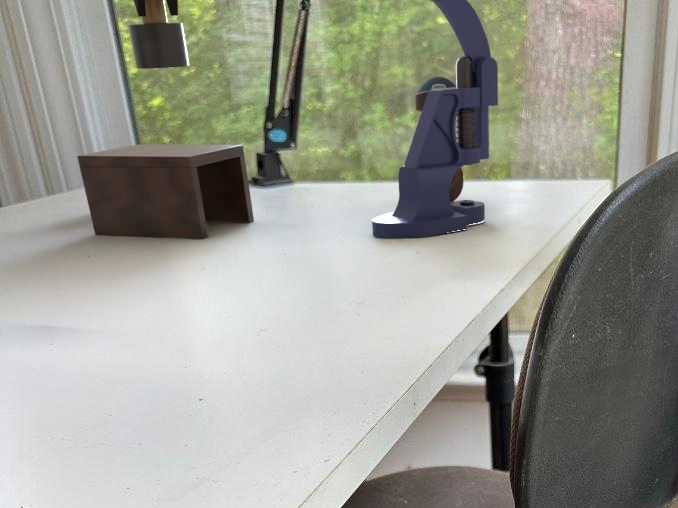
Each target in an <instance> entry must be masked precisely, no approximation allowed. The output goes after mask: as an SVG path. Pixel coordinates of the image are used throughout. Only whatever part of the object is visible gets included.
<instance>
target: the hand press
mask: <svg viewBox="0 0 678 508" xmlns="http://www.w3.org/2000/svg"><path fill="white" fill-rule="evenodd" d="M429 1H430V2H432V3H434V5H435V6H436V7H437V8H438V9H439V10H440V11H441V13H442V14H443V16H444V17H445V19H446V20H447V22H448V23H449V25H450V27H451V29H452V30H453V33H454V34H455V36H456V39H457V40H458V42H459V45H460V47H461V50H462V52H463V54H464V56H460V57H459V58H458V59H457V61H456V62H455V63H456V64H455V79H456V80H455V82H456V83H455V85H456V86H457V87H452V88H442V89H430V90H429V91H428V94H427V97H426V100H425V103H424V106H423V109H422V112H421V113H420V116H419V119H418V122H417V125H416V127H415V131H414V134H413V137H412V141H411V143H410V145H409V149H408V152H407V156H406V158H405V162H404V165H402V166H401V167H399V169H398V201H397V205H396V207H395V210H394V211H391V212H386V213H384V214H381V215H379V216H376V217H374V218H372V219H371V225H372V236H373V237H376V238H381V239H410V238H411V237H414V238H426V237H425V236H429V237H433V236H432V235H436V236H439V235H438V234H442V235H444V234H443V233H447V232H452V231H457V230H463V229H467V230H468V227H467V225H469V224H473V223H478V222H481V221H483V220H484V219H485V220H486V217H485V207H486V206H485V203H484V202H482V201H475V200H473V199H462V200H459V201H453V202H451V203H450V186H451V182H452V180H453V177H454V175H455V173H456V171H457V170H458V169H460V168H461V169H462V167H464V166H472V165H477V164H480V163H481V160H488V159H490V120H489V119H490V115H489V114H490V112H489V110H490V109H489V108H490V107H495V106H499V93H498V92H499V69H498V68H499V67H498V62H497V61H496V59H495V58H494V57H492V55H491V49H490V45H489V41H488V38H487V34H486V32H485V29H484V27H483V25H482V22H481V19H480V18H479V15H478V14H477V11H476V10H475V9H474V7H473V6H472V4H471V3H470V1H468V0H429ZM456 123H457V125H456ZM456 129H457V131H456Z"/></svg>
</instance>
